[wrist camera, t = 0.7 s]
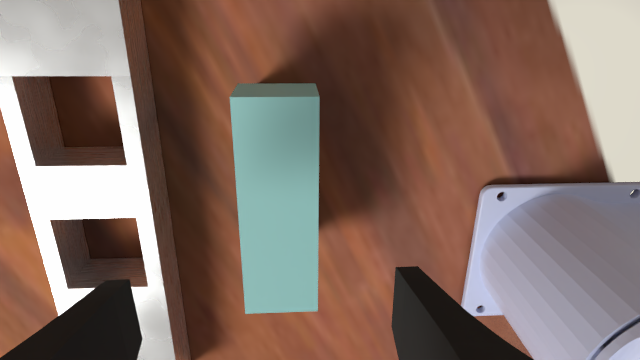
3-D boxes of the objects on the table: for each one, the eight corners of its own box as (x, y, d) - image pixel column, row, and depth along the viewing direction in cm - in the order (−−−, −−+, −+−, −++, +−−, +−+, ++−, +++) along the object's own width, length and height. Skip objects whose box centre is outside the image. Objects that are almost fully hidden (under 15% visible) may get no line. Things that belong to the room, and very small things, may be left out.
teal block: (312, 73, 19) (319, 96, 15) (311, 247, 23) (317, 311, 18) (244, 73, 19) (229, 97, 14) (254, 249, 23) (245, 313, 18)
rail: (121, -135, 16) (93, -158, 14) (191, 362, 25) (181, 398, 23) (-22, -140, 16) (-76, -163, 13) (102, 366, 25) (83, 403, 23)
